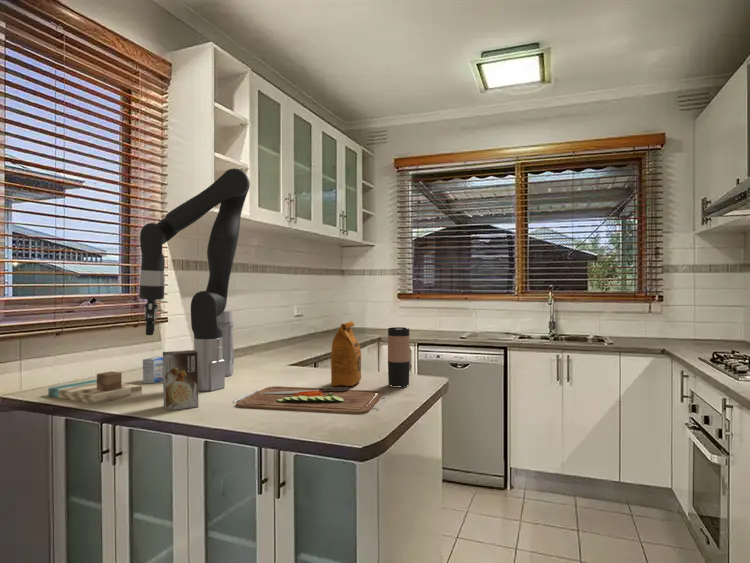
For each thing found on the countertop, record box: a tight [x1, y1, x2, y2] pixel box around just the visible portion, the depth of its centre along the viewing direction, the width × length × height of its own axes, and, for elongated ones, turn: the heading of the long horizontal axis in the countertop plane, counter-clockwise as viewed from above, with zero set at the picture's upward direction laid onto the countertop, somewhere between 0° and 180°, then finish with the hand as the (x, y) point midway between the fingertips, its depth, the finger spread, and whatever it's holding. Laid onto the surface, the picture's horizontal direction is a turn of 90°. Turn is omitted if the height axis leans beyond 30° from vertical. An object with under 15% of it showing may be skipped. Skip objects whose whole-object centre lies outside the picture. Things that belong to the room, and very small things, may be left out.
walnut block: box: [96, 370, 123, 391], centre depth 162 cm, size 5×5×5 cm
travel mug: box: [387, 326, 411, 386], centre depth 179 cm, size 8×8×20 cm
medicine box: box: [142, 355, 163, 384], centre depth 187 cm, size 8×4×9 cm, turn 168°
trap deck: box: [47, 378, 143, 405], centre depth 165 cm, size 24×16×2 cm, turn 62°
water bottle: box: [217, 309, 236, 378], centre depth 198 cm, size 9×8×25 cm
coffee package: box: [330, 320, 362, 387], centre depth 181 cm, size 10×12×22 cm
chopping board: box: [232, 385, 390, 415], centre depth 157 cm, size 45×27×3 cm, turn 78°
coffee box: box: [162, 349, 200, 412], centre depth 149 cm, size 9×6×16 cm
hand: (150, 333), depth 169 cm, fingers open, 8 cm apart
